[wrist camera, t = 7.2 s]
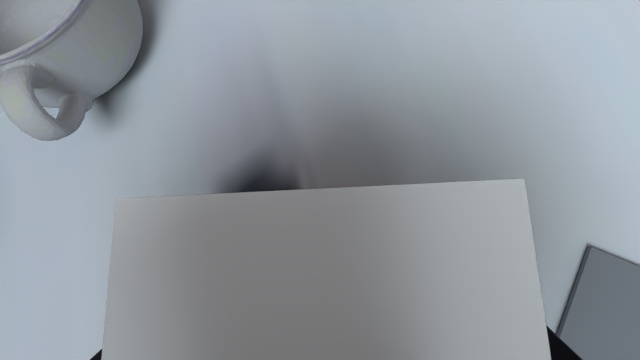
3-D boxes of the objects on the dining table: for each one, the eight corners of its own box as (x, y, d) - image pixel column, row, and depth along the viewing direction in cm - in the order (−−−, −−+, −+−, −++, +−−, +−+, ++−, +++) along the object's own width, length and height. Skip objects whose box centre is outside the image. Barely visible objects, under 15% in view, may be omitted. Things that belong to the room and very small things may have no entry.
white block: (452, 438, 14) (607, 740, 5) (248, 435, 14) (71, 693, 6) (433, 228, 15) (524, 178, 7) (250, 235, 16) (115, 199, 7)
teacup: (23, -1, 29) (-103, -99, 21) (163, -30, 28) (85, -143, 20) (17, 181, 26) (-135, 146, 18) (173, 155, 25) (86, 106, 17)
